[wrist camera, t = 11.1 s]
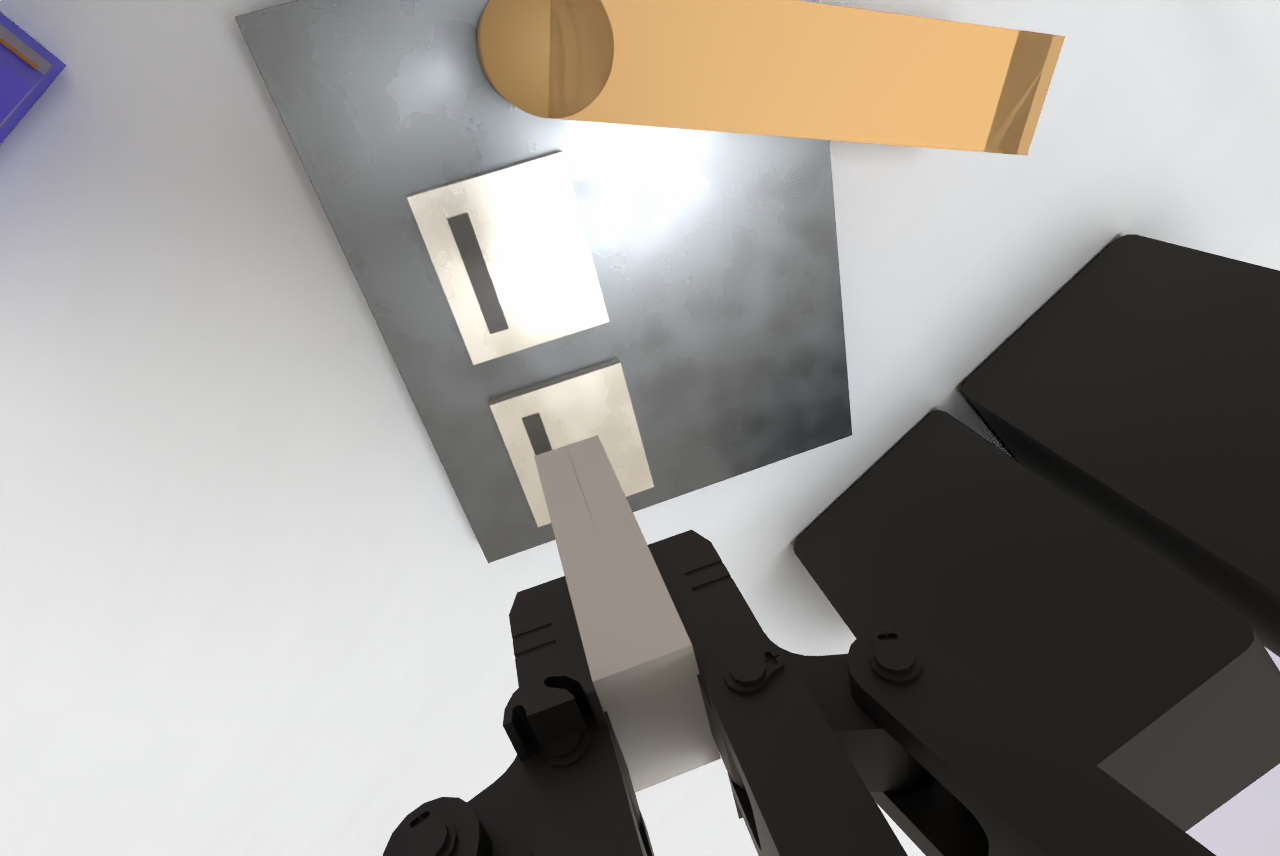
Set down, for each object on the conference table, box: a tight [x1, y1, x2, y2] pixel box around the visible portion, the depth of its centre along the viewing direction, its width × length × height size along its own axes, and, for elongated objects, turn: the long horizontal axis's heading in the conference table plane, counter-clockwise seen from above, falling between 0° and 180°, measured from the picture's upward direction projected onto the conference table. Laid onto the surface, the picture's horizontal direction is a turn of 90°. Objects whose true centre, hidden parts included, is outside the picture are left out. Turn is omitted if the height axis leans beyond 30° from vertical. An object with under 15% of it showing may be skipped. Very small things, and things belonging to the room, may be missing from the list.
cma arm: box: [477, 0, 1065, 155], centre depth 24 cm, size 20×4×3 cm, turn 86°
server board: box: [235, 0, 852, 563], centre depth 30 cm, size 24×20×3 cm
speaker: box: [794, 235, 1280, 832], centre depth 34 cm, size 25×11×19 cm, turn 136°
